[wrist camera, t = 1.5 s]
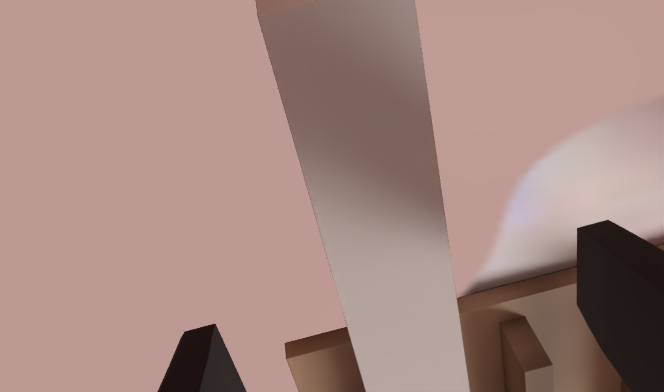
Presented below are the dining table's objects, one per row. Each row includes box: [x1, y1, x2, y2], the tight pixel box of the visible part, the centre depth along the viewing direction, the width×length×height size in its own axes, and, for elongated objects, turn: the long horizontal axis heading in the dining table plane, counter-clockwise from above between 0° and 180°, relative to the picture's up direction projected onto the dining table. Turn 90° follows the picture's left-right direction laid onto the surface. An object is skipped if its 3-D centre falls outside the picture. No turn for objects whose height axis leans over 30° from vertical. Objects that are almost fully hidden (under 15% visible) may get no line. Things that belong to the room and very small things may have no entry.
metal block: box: [256, 0, 470, 392], centre depth 16 cm, size 2×12×7 cm, turn 12°
